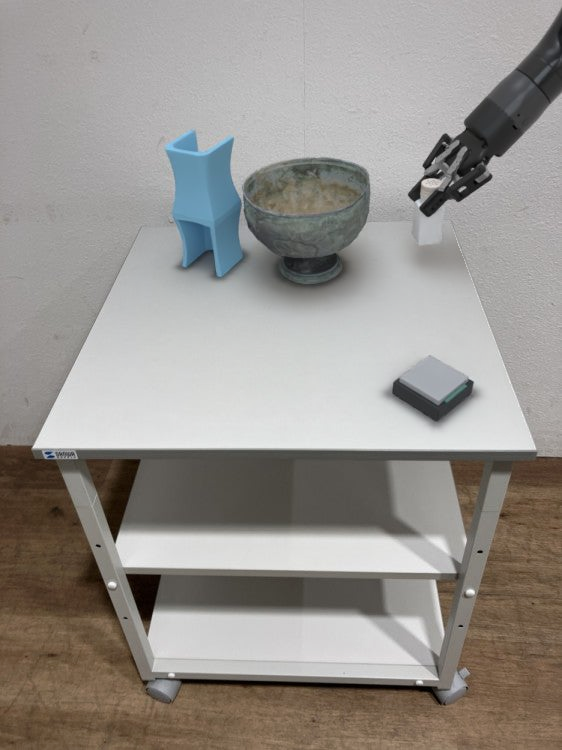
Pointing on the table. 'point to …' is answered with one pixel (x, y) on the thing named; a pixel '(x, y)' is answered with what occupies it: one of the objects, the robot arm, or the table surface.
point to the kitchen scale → (433, 387)
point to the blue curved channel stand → (205, 201)
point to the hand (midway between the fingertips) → (417, 205)
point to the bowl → (307, 213)
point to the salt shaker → (428, 227)
